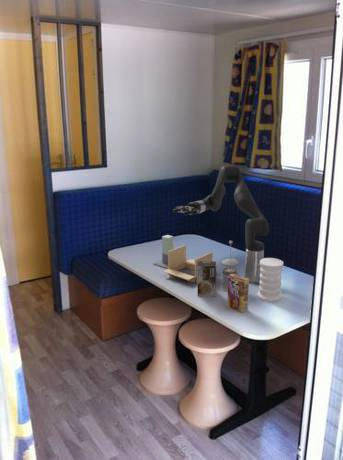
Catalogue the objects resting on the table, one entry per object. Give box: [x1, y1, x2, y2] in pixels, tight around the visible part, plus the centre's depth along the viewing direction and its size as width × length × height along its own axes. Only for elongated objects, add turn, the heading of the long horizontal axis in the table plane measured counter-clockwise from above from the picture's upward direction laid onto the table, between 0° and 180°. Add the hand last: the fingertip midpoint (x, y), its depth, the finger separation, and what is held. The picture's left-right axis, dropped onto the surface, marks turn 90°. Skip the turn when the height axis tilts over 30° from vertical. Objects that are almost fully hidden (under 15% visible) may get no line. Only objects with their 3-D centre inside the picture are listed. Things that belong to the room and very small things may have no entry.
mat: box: [152, 259, 168, 270], centre depth 258 cm, size 12×12×1 cm
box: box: [161, 234, 174, 265], centre depth 255 cm, size 4×4×16 cm
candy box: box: [226, 274, 250, 313], centre depth 201 cm, size 9×4×15 cm, turn 47°
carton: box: [162, 244, 218, 284], centre depth 240 cm, size 19×24×13 cm
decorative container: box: [256, 257, 284, 303], centre depth 212 cm, size 12×12×18 cm
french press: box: [219, 240, 239, 293], centre depth 221 cm, size 10×12×25 cm
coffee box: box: [196, 260, 217, 298], centre depth 216 cm, size 9×6×16 cm
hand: (179, 212), depth 257 cm, fingers open, 8 cm apart
